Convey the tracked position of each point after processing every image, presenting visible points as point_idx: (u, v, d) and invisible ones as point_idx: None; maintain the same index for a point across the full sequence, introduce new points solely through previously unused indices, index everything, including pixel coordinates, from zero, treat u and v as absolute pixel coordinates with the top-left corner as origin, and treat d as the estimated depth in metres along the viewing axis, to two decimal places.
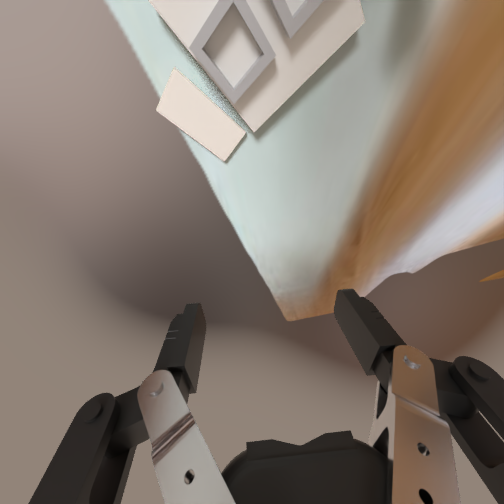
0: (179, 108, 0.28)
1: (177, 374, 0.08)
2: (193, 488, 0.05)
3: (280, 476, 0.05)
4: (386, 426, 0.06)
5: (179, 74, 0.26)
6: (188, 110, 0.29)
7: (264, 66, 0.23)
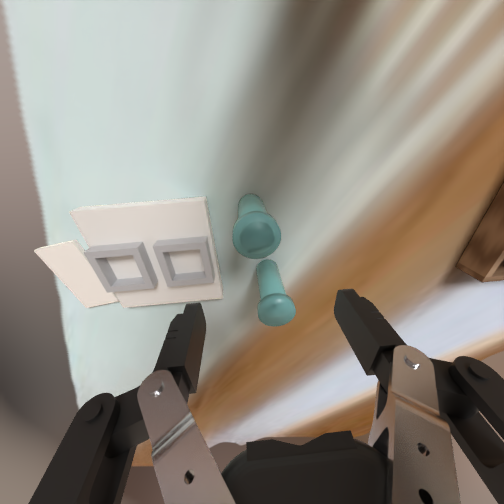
0: (60, 261, 0.29)
1: (177, 374, 0.08)
2: (193, 488, 0.05)
3: (280, 476, 0.05)
4: (386, 426, 0.06)
5: (75, 247, 0.28)
6: (69, 266, 0.30)
7: (143, 288, 0.29)
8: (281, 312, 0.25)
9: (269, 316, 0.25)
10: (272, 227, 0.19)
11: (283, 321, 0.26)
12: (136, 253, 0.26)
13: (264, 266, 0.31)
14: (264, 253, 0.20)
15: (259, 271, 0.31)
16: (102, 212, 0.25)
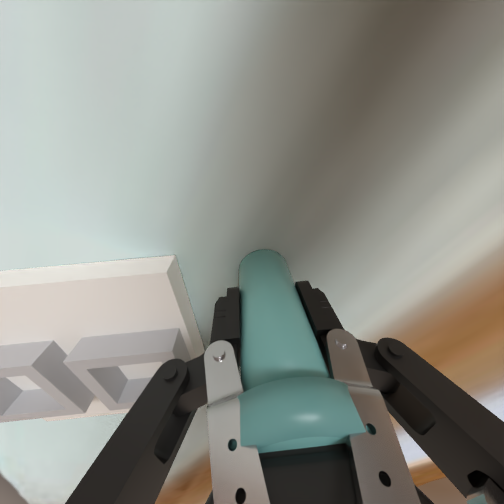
0: None
1: (232, 346, 0.09)
2: (234, 457, 0.05)
3: (280, 476, 0.05)
4: None
5: None
6: None
7: (64, 414, 0.16)
8: None
9: None
10: None
11: None
12: (32, 372, 0.13)
13: None
14: None
15: None
16: None
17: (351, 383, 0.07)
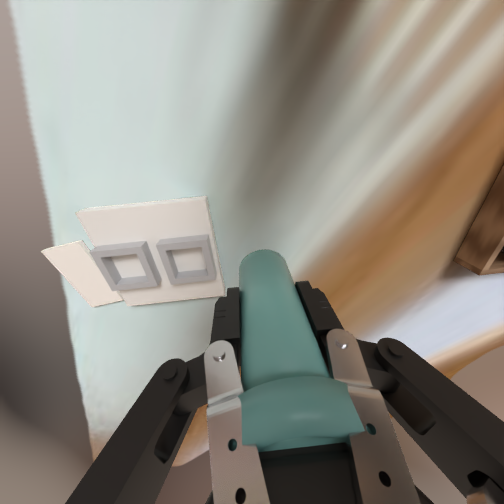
0: (67, 261, 0.30)
1: (232, 346, 0.09)
2: (234, 457, 0.05)
3: (280, 476, 0.05)
4: None
5: (81, 247, 0.29)
6: (75, 266, 0.31)
7: (146, 286, 0.30)
8: None
9: None
10: None
11: None
12: (140, 251, 0.27)
13: None
14: None
15: None
16: (107, 212, 0.26)
17: (351, 383, 0.07)
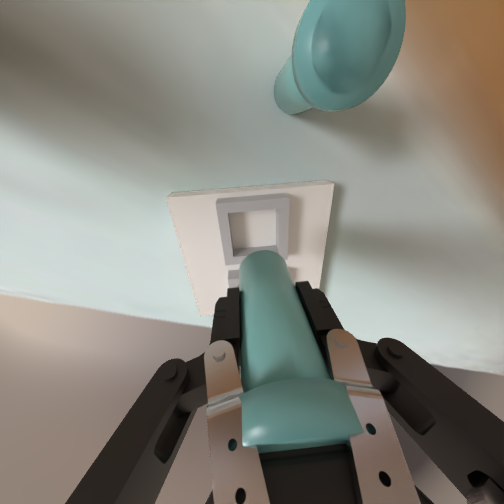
0: None
1: (232, 346, 0.09)
2: (234, 457, 0.05)
3: (280, 476, 0.05)
4: None
5: None
6: None
7: None
8: (350, 25, 0.09)
9: (354, 72, 0.09)
10: None
11: (389, 14, 0.08)
12: (234, 281, 0.23)
13: (278, 94, 0.16)
14: None
15: (286, 106, 0.16)
16: (197, 295, 0.26)
17: (351, 383, 0.07)
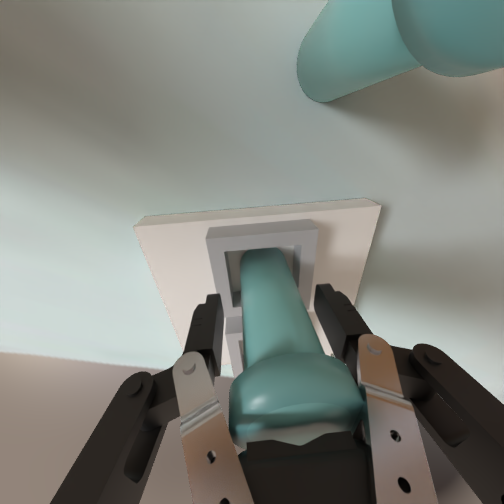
0: None
1: (205, 356, 0.08)
2: (214, 469, 0.05)
3: (280, 476, 0.05)
4: (361, 418, 0.06)
5: None
6: None
7: None
8: None
9: None
10: (348, 409, 0.06)
11: None
12: (234, 336, 0.17)
13: (307, 66, 0.10)
14: None
15: (319, 86, 0.10)
16: None
17: (379, 389, 0.06)
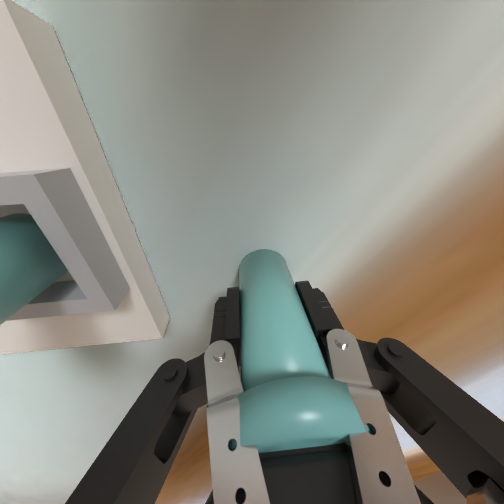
0: None
1: (232, 346, 0.09)
2: (233, 457, 0.05)
3: (280, 476, 0.05)
4: None
5: None
6: None
7: None
8: None
9: None
10: None
11: None
12: None
13: (257, 265, 0.12)
14: None
15: (244, 277, 0.12)
16: None
17: (351, 383, 0.07)
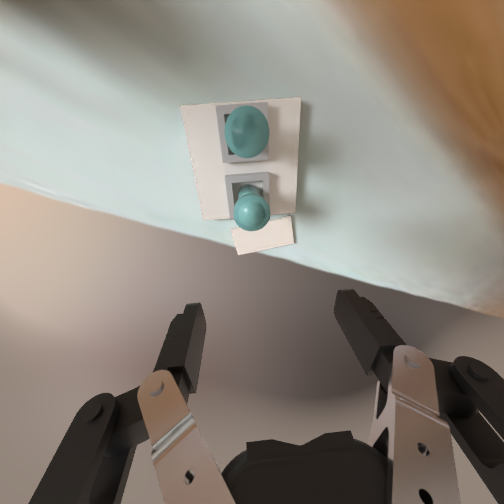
0: (247, 243, 0.40)
1: (177, 374, 0.08)
2: (193, 488, 0.05)
3: (280, 476, 0.05)
4: (386, 426, 0.06)
5: (235, 229, 0.38)
6: (251, 239, 0.40)
7: (268, 184, 0.32)
8: (256, 213, 0.25)
9: (244, 217, 0.26)
10: (261, 120, 0.20)
11: (259, 224, 0.26)
12: (229, 178, 0.31)
13: (245, 187, 0.32)
14: (254, 152, 0.22)
15: (240, 191, 0.32)
16: (201, 198, 0.34)
17: (412, 402, 0.06)
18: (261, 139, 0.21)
